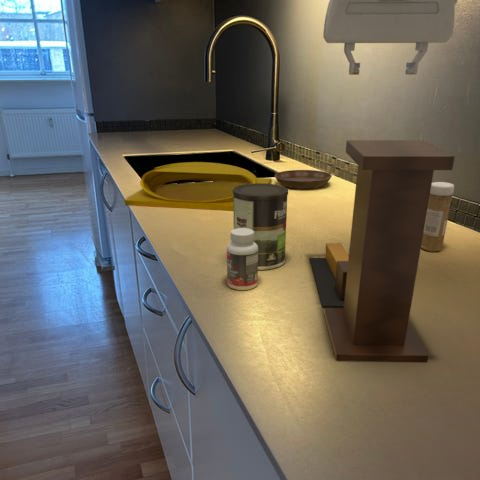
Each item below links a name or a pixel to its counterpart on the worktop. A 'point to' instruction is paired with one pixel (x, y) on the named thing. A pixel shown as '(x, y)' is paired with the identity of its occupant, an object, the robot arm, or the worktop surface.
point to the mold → (190, 172)
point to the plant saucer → (303, 178)
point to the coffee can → (263, 219)
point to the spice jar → (437, 216)
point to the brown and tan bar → (338, 266)
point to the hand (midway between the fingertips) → (382, 74)
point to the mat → (325, 284)
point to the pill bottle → (242, 260)
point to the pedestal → (385, 250)
